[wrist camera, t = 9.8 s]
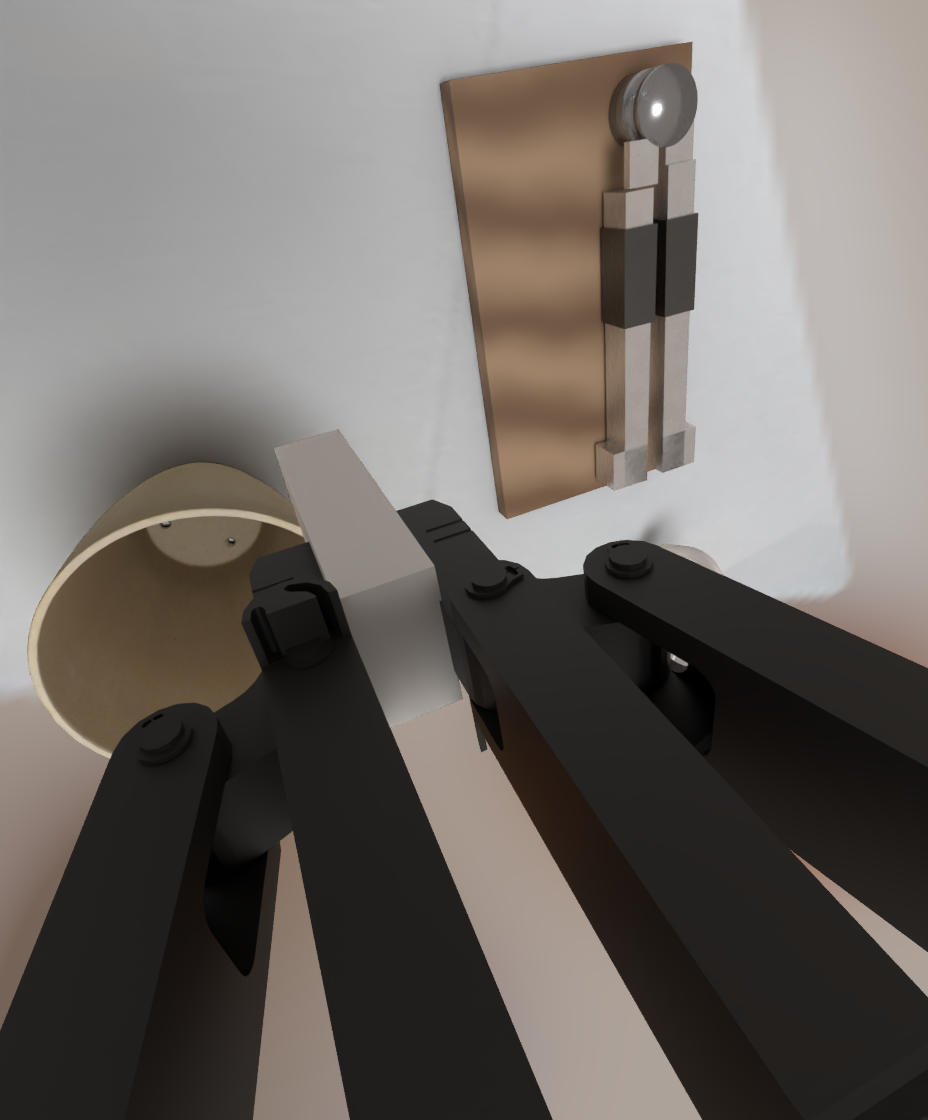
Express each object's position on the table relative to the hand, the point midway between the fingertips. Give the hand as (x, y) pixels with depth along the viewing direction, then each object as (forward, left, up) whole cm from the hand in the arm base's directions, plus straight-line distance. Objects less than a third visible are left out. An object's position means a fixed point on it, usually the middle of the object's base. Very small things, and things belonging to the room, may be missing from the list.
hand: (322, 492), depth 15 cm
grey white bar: (+5, +28, -27) cm, 39 cm away
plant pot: (+12, -6, -29) cm, 32 cm away
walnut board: (+5, +23, -28) cm, 37 cm away
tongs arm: (+5, +26, -27) cm, 38 cm away
